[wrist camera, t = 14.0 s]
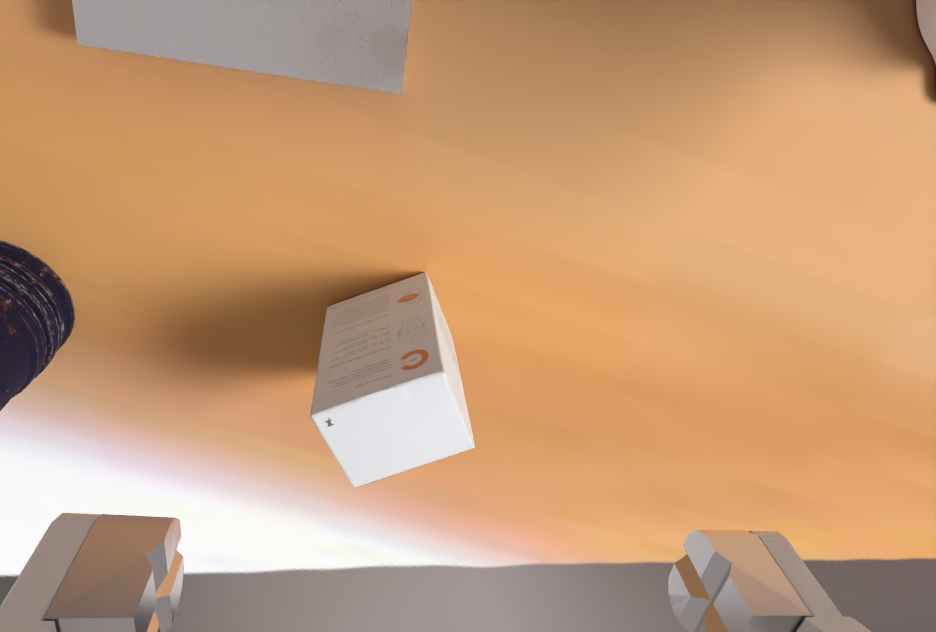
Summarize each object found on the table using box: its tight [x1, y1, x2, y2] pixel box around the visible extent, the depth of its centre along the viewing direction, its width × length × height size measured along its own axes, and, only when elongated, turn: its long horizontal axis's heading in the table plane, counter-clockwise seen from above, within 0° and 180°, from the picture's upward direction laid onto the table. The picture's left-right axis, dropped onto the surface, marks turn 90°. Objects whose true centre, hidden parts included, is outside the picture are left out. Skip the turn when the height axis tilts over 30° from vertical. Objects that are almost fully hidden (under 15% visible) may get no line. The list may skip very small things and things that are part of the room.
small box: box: [310, 273, 474, 488], centre depth 41 cm, size 8×6×13 cm
